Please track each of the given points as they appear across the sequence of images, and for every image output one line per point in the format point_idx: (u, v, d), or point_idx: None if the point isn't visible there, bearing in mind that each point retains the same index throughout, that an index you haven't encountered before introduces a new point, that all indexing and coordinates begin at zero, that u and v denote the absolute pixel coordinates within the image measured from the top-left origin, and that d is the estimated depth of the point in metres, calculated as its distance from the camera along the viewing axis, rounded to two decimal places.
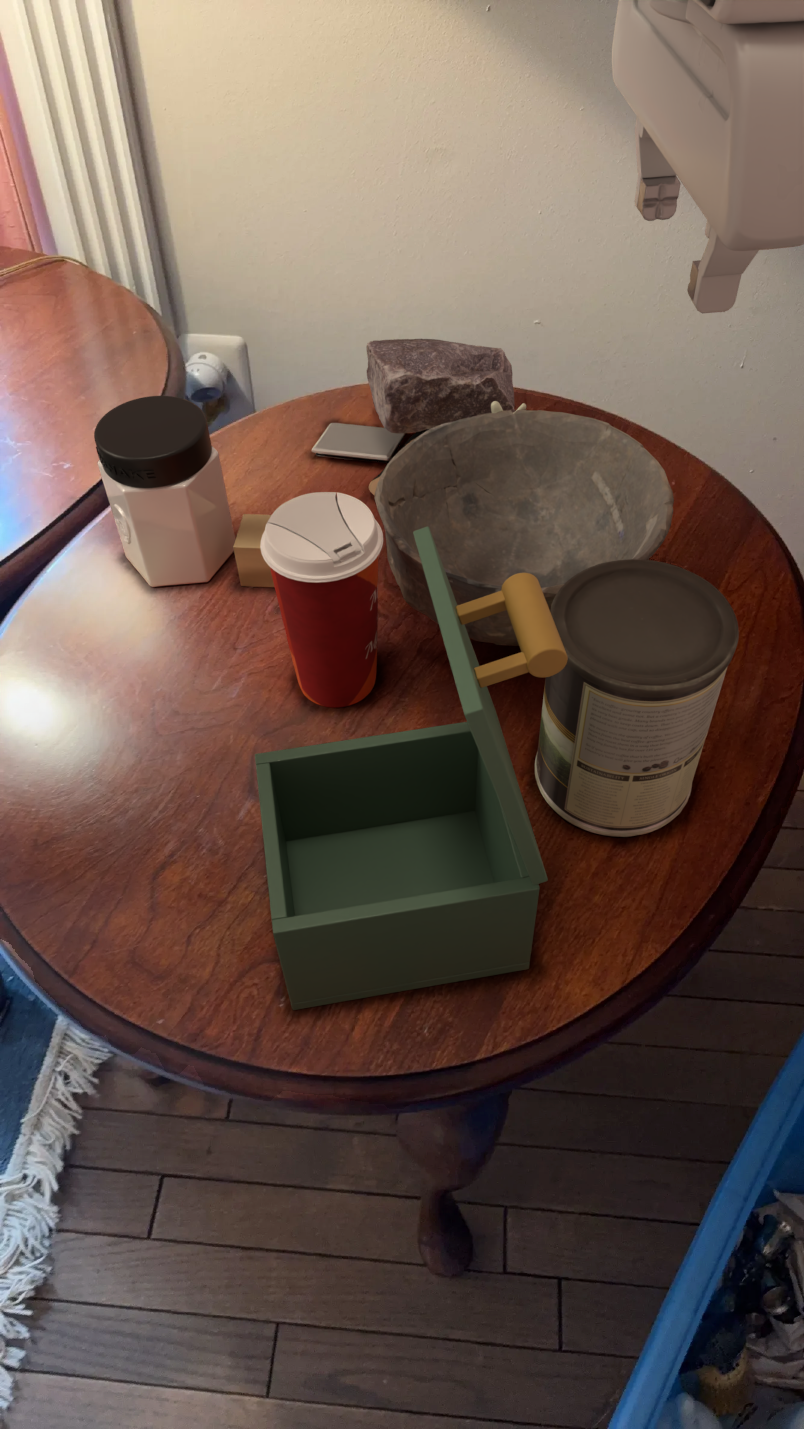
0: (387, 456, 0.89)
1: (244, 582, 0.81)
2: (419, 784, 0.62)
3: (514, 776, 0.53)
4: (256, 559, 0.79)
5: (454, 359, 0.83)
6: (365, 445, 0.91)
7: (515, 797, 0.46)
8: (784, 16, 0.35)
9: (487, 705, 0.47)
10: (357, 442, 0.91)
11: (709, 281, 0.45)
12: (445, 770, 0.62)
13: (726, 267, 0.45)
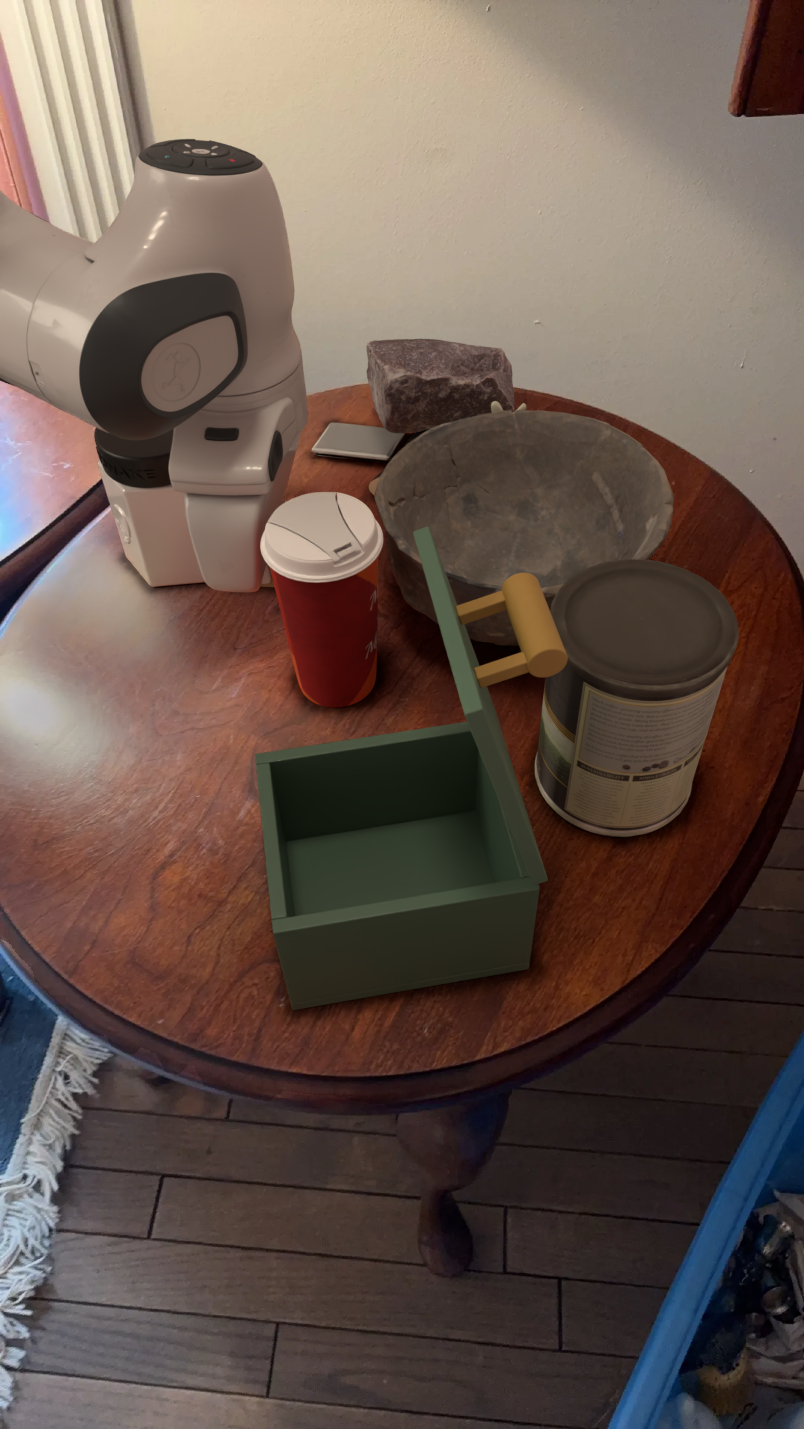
0: (387, 456, 0.89)
1: None
2: (419, 784, 0.62)
3: (514, 776, 0.53)
4: None
5: (454, 359, 0.83)
6: (365, 445, 0.91)
7: (515, 797, 0.46)
8: (203, 493, 0.66)
9: (487, 705, 0.47)
10: (357, 442, 0.91)
11: None
12: (445, 770, 0.62)
13: None
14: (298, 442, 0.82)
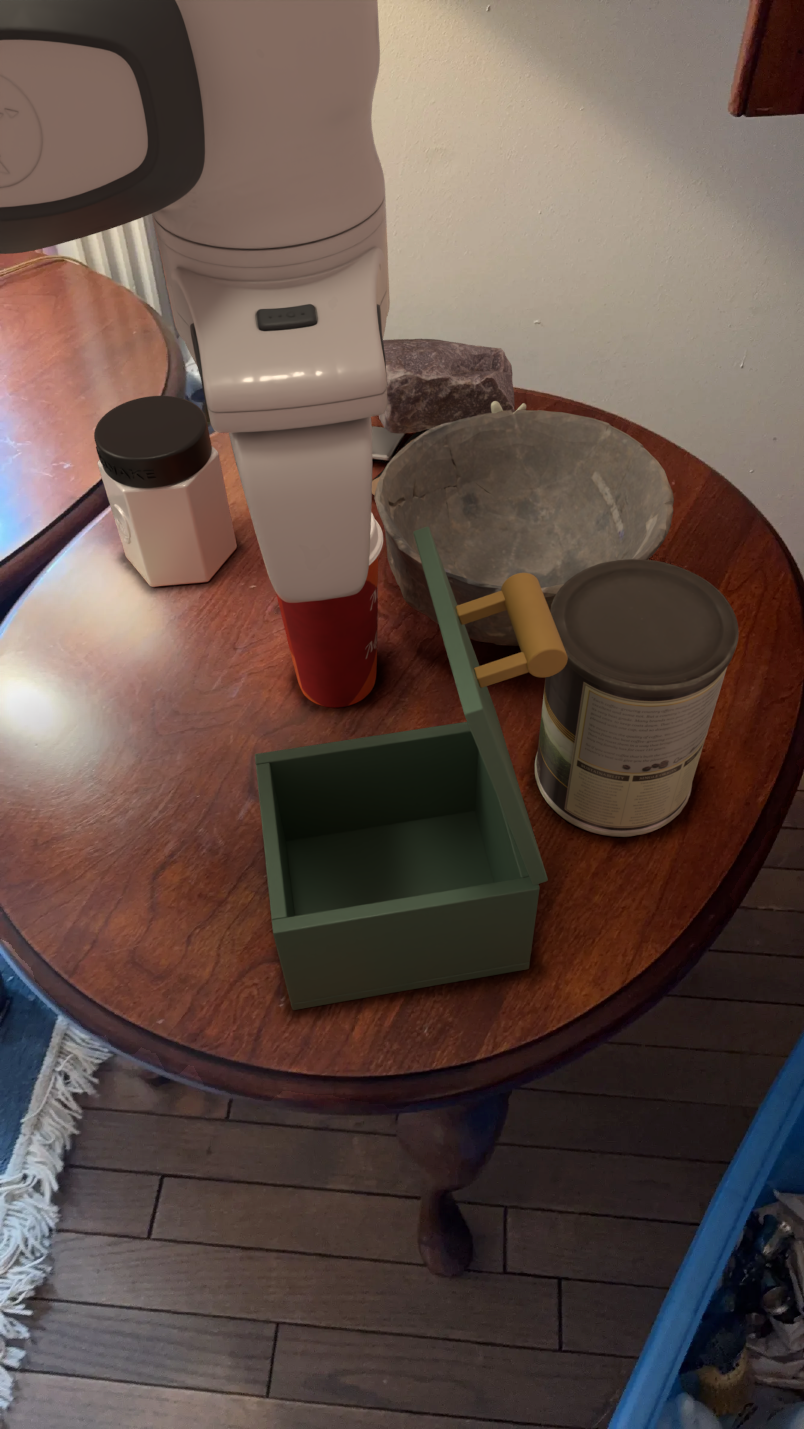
0: (387, 456, 0.89)
1: None
2: (419, 784, 0.62)
3: (514, 776, 0.53)
4: None
5: (454, 359, 0.83)
6: None
7: (515, 797, 0.46)
8: (272, 428, 0.37)
9: (487, 705, 0.47)
10: None
11: None
12: (445, 770, 0.62)
13: None
14: None
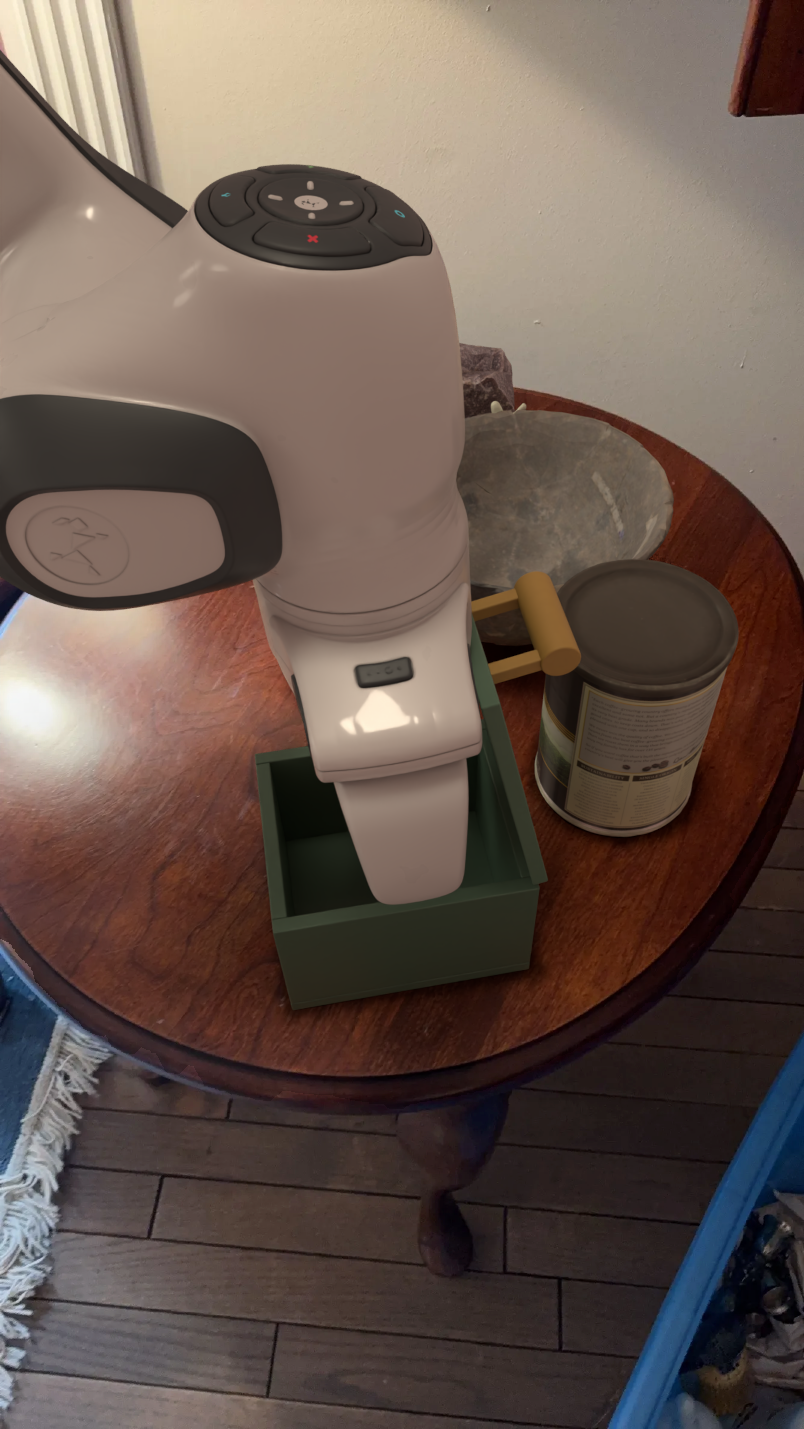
0: None
1: None
2: None
3: None
4: None
5: None
6: None
7: (523, 795, 0.46)
8: None
9: None
10: None
11: None
12: None
13: None
14: None
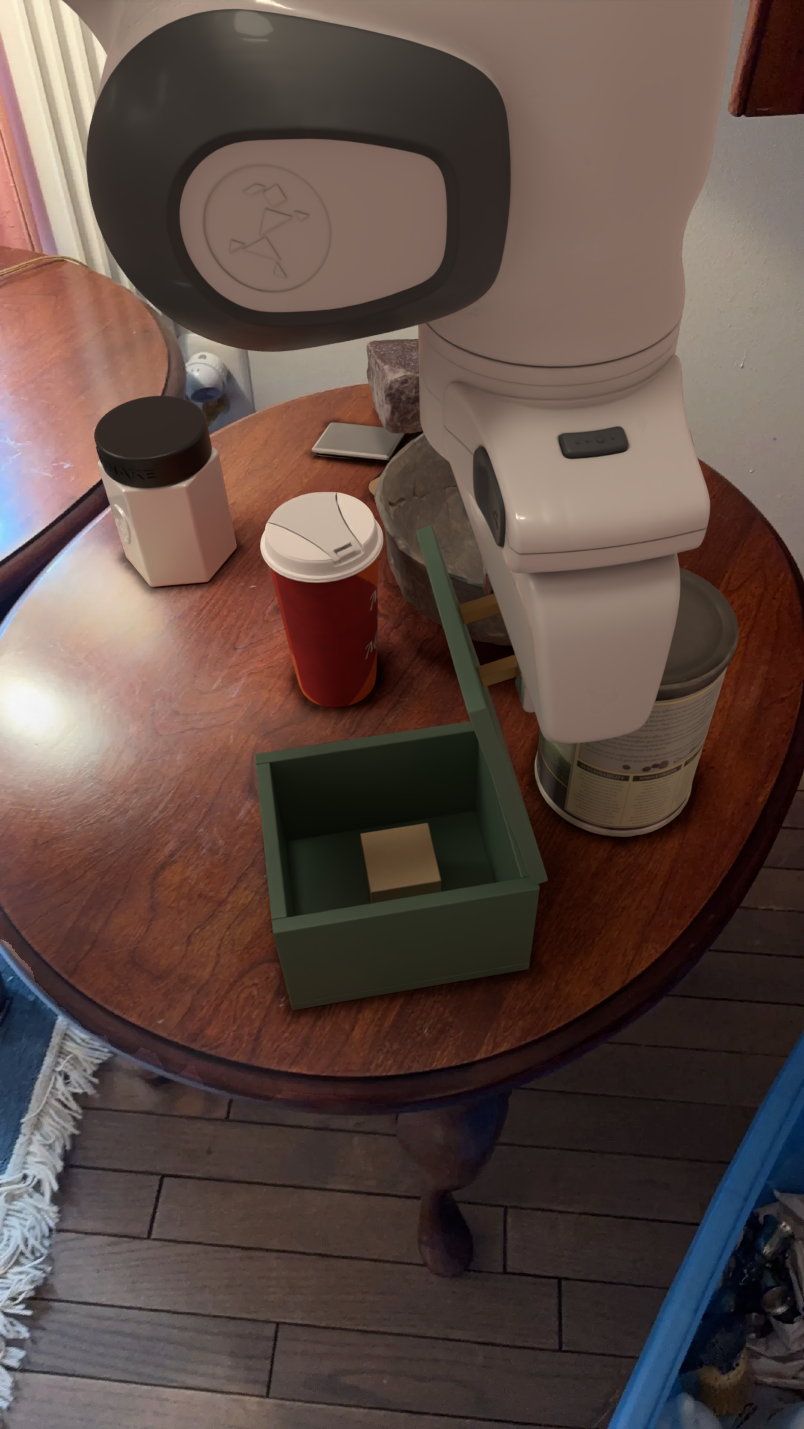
0: (387, 456, 0.89)
1: None
2: (419, 784, 0.62)
3: (515, 776, 0.53)
4: (400, 898, 0.58)
5: None
6: (365, 445, 0.91)
7: (517, 796, 0.46)
8: (577, 567, 0.32)
9: (489, 704, 0.47)
10: (357, 442, 0.91)
11: None
12: (445, 770, 0.62)
13: None
14: None
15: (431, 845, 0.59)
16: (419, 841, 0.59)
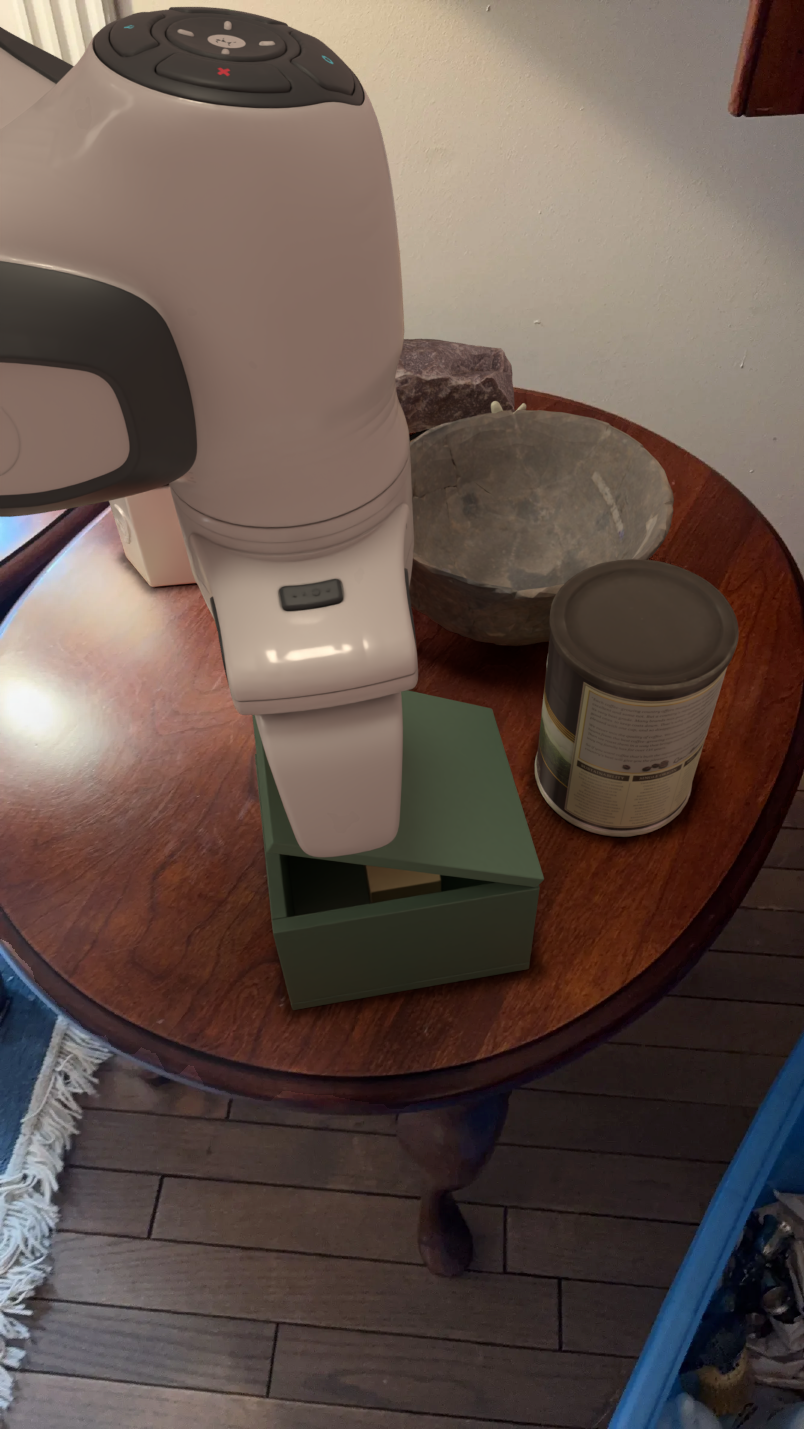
0: None
1: None
2: None
3: (479, 793, 0.54)
4: (400, 898, 0.58)
5: (454, 359, 0.83)
6: None
7: (404, 861, 0.48)
8: None
9: None
10: None
11: None
12: None
13: None
14: None
15: None
16: None
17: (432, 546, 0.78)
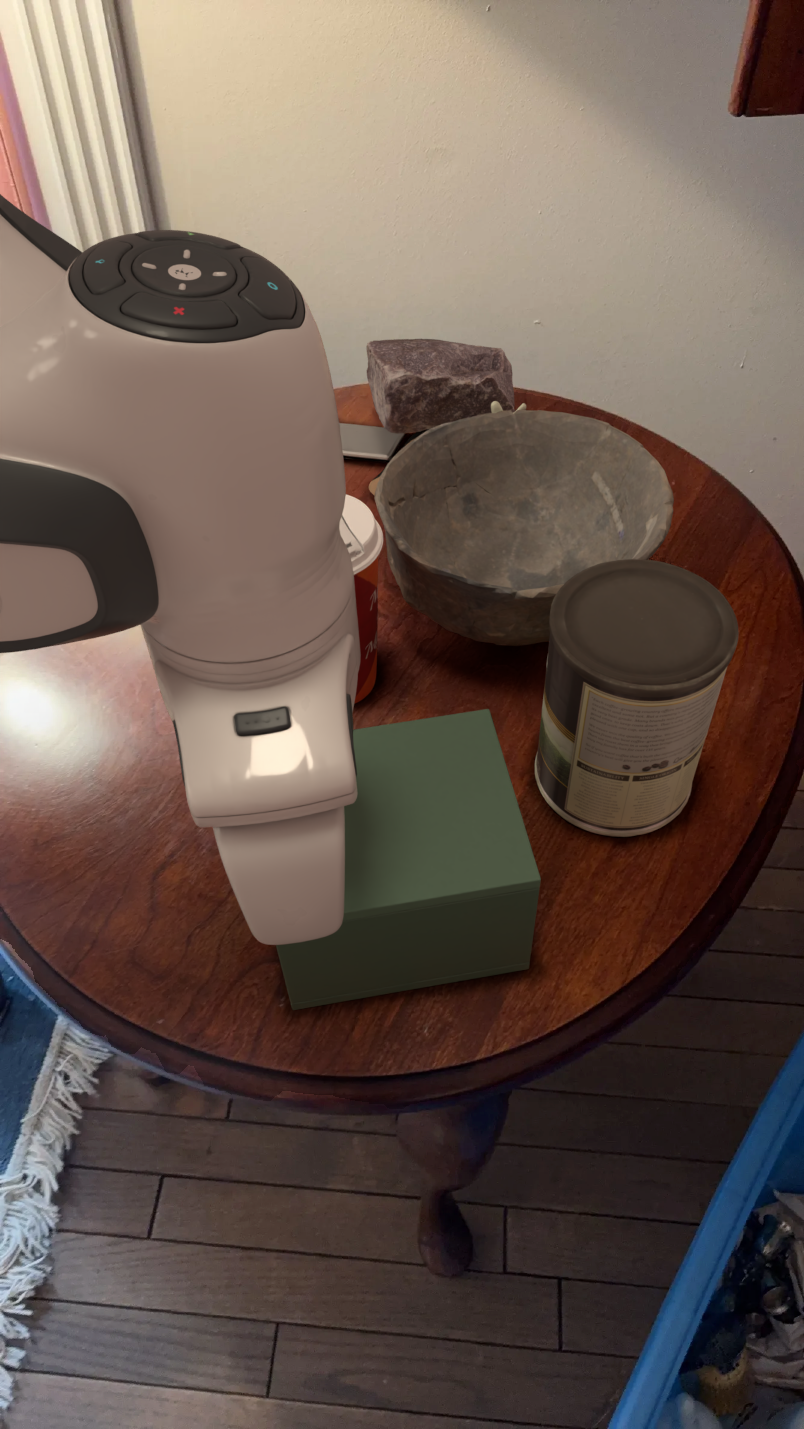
0: (387, 455, 0.89)
1: None
2: None
3: (469, 808, 0.55)
4: None
5: (454, 359, 0.83)
6: (365, 445, 0.91)
7: (384, 906, 0.51)
8: None
9: None
10: (357, 442, 0.91)
11: None
12: None
13: None
14: None
15: None
16: None
17: (432, 546, 0.78)
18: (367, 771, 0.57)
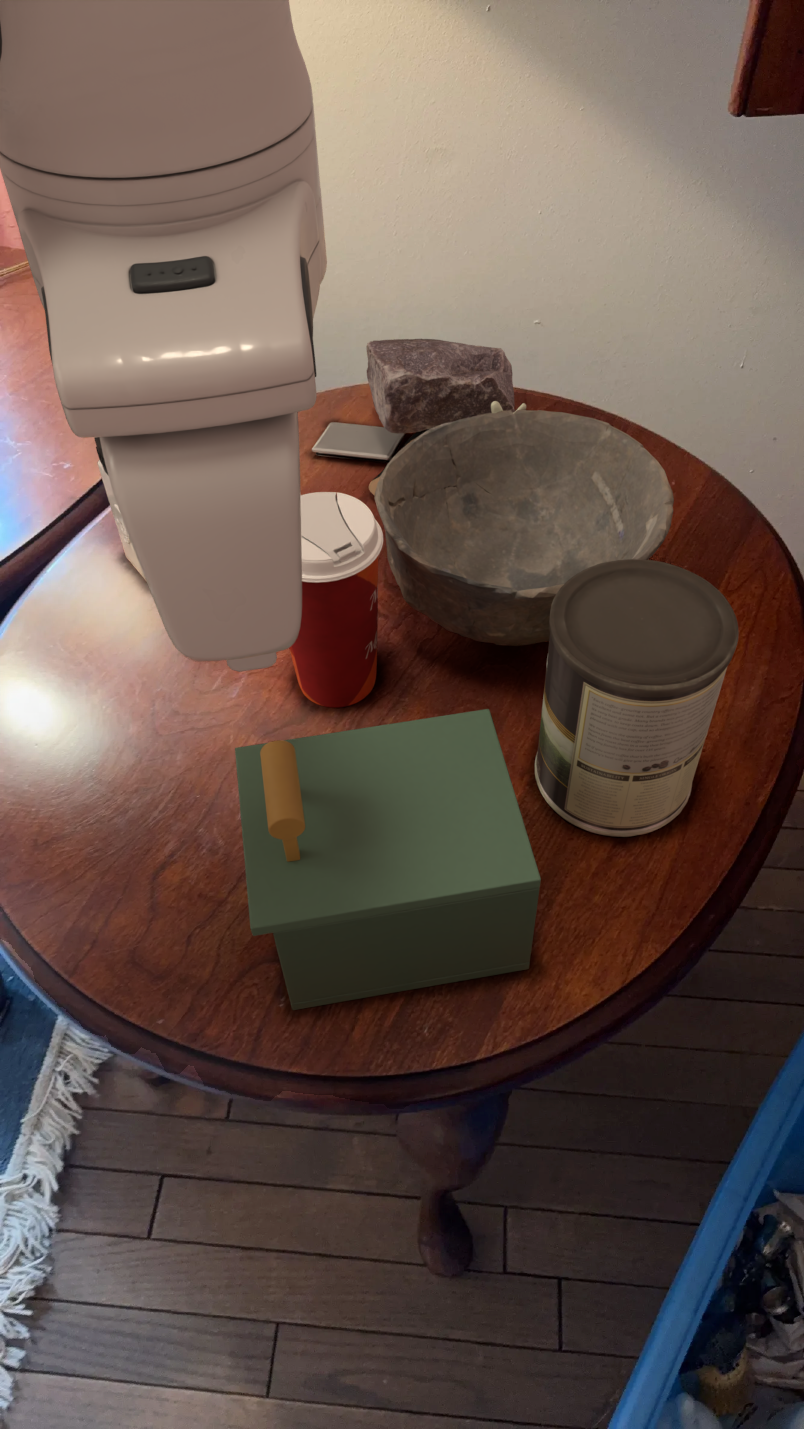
0: (387, 455, 0.89)
1: None
2: None
3: (469, 808, 0.55)
4: None
5: (454, 359, 0.83)
6: (365, 444, 0.91)
7: (384, 906, 0.51)
8: (155, 430, 0.26)
9: (339, 841, 0.54)
10: (357, 441, 0.91)
11: None
12: None
13: None
14: None
15: None
16: None
17: (432, 546, 0.78)
18: (367, 771, 0.57)
